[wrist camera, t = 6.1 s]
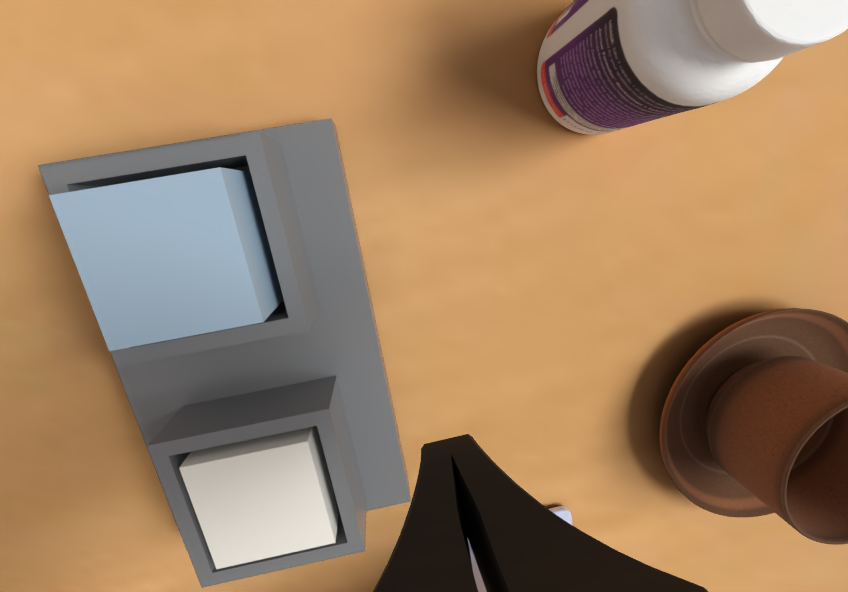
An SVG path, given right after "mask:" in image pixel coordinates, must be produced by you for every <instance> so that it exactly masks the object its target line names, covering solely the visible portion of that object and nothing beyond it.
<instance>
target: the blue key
mask: <svg viewBox="0 0 848 592" xmlns="http://www.w3.org/2000/svg"><path fill="white" fill-rule="evenodd" d="M49 198H50V200H51V203H52V205H53V208H54V210H55V213H56V216H57V218H58V221H59V223H60V226H61V229H62V231H63V234H64V236H65V239H66V241H67V244H68V247H69V249H70V252H71V254H72V257H73V259H74V262H75V265H76V267H77V270H78V272H79V275H80V278H81V280H82V283H83V285H84V288H85V290H86V293H87V296H88V298H89V301H90V303H91V306H92V308H93V311H94V314H95V316H96V319H97V321H98V324H99V327H100V329H101V332H102V334H103V337H104V339H105V342H106V345H107V347H108V350H109V351H113V350H118V349H124V348H129V347H134V346H140V345H145V344H150V343H156V342H161V341H166V340H172V339H177V338H182V337H188V336H193V335H198V334H204V333H209V332H214V331H220V330H225V329H230V328H235V327H241V326H246V325H251V324H257V323H262V322H264V321H265V320H266V319H267V318H268V316H269V315H270V314H271V313H272V312H273V311H274V310H275V309H276V308H277V306H278V305H279V304H280V303H281V302H282V301H283V300H284V298H283V294H282V291H281V287H280V283H279V279H278V275H277V272H276V268H275V264H274V260H273V256H272V253H271V249H270V245H269V241H268V237H267V234H266V230H265V226H264V222H263V218H262V214H261V211H260V207H259V203H258V199H257V195H256V192H255V188H254V184H253V180H252V176H251V173H250V172H246V171H240V170H234V169H228V168H221V167H219V168H213V169H206V170H200V171H194V172H188V173H182V174H176V175H170V176H164V177H158V178H152V179H146V180H139V181H133V182H127V183H121V184H115V185H109V186H103V187H97V188H91V189H85V190H79V191H73V192H66V193H60V194H54V195H49Z"/></svg>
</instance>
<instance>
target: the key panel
mask: <svg viewBox="0 0 848 592" xmlns="http://www.w3.org/2000/svg"><path fill="white" fill-rule="evenodd" d="M38 167H39V170H40V172H41V175H42V177H43V180H44V183H45V185H46V188H47V190H48V193H49V195H54V194H60V193H66V192H73V191H79V190H85V189H91V188H97V187H103V186H109V185H115V184H121V183H127V182H133V181H139V180H146V179H152V178H158V177H164V176H170V175H176V174H182V173H188V172H194V171H200V170H206V169H213V168H219V167H221V168H228V169H234V170H240V171H246V172H250V173H251V176H252V180H253V184H254V188H255V192H256V195H257V199H258V203H259V207H260V211H261V214H262V218H263V222H264V226H265V230H266V234H267V237H268V241H269V245H270V249H271V253H272V256H273V260H274V264H275V268H276V272H277V275H278V279H279V283H280V287H281V291H282V294H283V298H284V300H283V301H282V302H281V303H280V304H279V305H278V306H277V308H276V309H275V310H274V311H273V312H272V313H271V314H270V315H269V316H268V318H267V319H266V320H265V321H264V322H262V323H257V324H251V325H246V326H241V327H235V328H230V329H225V330H220V331H214V332H209V333H204V334H198V335H193V336H188V337H182V338H177V339H172V340H166V341H161V342H156V343H150V344H145V345H140V346H134V347H129V348H124V349H118V350H113V351H110V353H111V356H112V358H113V361H114V363H115V366H116V369H117V371H118V374H119V376H120V379H121V382H122V384H123V387H124V389H125V392H126V394H127V397H128V400H129V402H130V405H131V407H132V410H133V413H134V415H135V418H136V420H137V423H138V425H139V428H140V431H141V433H142V436H143V438H144V441H145V443H146V446H147V449H148V451H149V454H150V456H151V459H152V462H153V464H154V467H155V469H156V472H157V474H158V477H159V480H160V482H161V485H162V487H163V490H164V493H165V495H166V498H167V500H168V503H169V505H170V508H171V511H172V513H173V516H174V518H175V521H176V524H177V526H178V529H179V531H180V534H181V536H182V539H183V542H184V544H185V547H186V549H187V551H188V554H189V556H190V559H191V561H192V564H193V566H194V569H195V572H196V574H197V577H198V579H199V582H200V585H201V587H202V588H203V587H207V586H211V585H216V584H220V583H225V582H229V581H234V580H238V579H243V578H247V577H251V576H256V575H260V574H265V573H269V572H274V571H278V570H283V569H287V568H291V567H296V566H300V565H305V564H309V563H314V562H318V561H323V560H327V559H331V558H336V557H340V556H345V555H349V554H354V553H358V552H363V551H365V531H366V511H369V510H373V509H378V508H382V507H387V506H391V505H396V504H401V503H405V502H410V501H411V499H410V490H409V481H408V476H407V471H406V466H405V461H404V456H403V452H402V447H401V442H400V437H399V432H398V427H397V423H396V418H395V413H394V408H393V403H392V398H391V393H390V389H389V384H388V379H387V374H386V369H385V364H384V360H383V355H382V350H381V345H380V340H379V335H378V331H377V326H376V321H375V316H374V311H373V306H372V301H371V297H370V292H369V287H368V282H367V277H366V272H365V268H364V263H363V258H362V253H361V248H360V243H359V238H358V234H357V229H356V224H355V219H354V214H353V209H352V205H351V200H350V195H349V190H348V185H347V180H346V175H345V171H344V166H343V161H342V156H341V151H340V146H339V142H338V137H337V132H336V127H335V124H334V122H333V121H332V119H325V120H318V121H312V122H306V123H300V124H293V125H287V126H281V127H275V128H268V129H262V130H256V131H250V132H243V133H237V134H231V135H225V136H218V137H212V138H206V139H200V140H193V141H187V142H181V143H175V144H168V145H162V146H156V147H149V148H143V149H137V150H131V151H124V152H118V153H112V154H106V155H99V156H93V157H87V158H81V159H74V160H68V161H62V162H56V163H49V164H43V165H38ZM313 426H317V428H318V432H319V435H320V439H321V443H322V447H323V451H324V455H325V458H326V462H327V466H328V470H329V474H330V477H331V481H332V485H333V489H334V493H335V496H336V500H337V504H338V508H339V518H338V526H337V534H336V542H335V543H332V544H328V545H324V546H319V547H315V548H310V549H306V550H301V551H297V552H292V553H288V554H283V555H279V556H274V557H270V558H265V559H261V560H256V561H252V562H247V563H243V564H238V565H234V566H229V567H225V568H220V569H216V567H215V564H214V561H213V558H212V556H211V553H210V550H209V548H208V545H207V542H206V539H205V537H204V534H203V531H202V529H201V526H200V523H199V521H198V518H197V515H196V512H195V510H194V507H193V504H192V502H191V499H190V496H189V494H188V491H187V488H186V485H185V483H184V480H183V477H182V475H181V472H180V469H179V467H180V466H181V465H182V463H183V462H184V460H185V459H186V458H187V456H188V455H189V453H190V452H191V451H196V450H201V449H206V448H211V447H216V446H221V445H226V444H230V443H235V442H240V441H245V440H250V439H255V438H260V437H265V436H270V435H274V434H279V433H284V432H289V431H294V430H299V429H304V428H309V427H313Z"/></svg>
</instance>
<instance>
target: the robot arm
mask: <svg viewBox="0 0 848 592" xmlns="http://www.w3.org/2000/svg"><path fill="white" fill-rule="evenodd" d="M373 592H708V591H707V590H706V589H705V588H704V587H701V586H699V585H696V584H694V583H691V582H688V581H686V580H683V579H681V578H678V577H676V576H673V575H671V574H668V573H666V572H663V571H660V570H658V569H655V568H653V567H651V566H648V565H646V564H644V563H642V562H640V561H637V560H635V559H633V558H631V557H629V556H627V555H625V554H623V553H620V552H618V551H616V550H614V549H613V548H611V547H609V546H607V545H605V544H604V543H602V542H600V541H598V540H596V539H595V538H593V537H591V536H589V535H587V534H586V533H584V532H582V531H580V530H579V529H577V528H576V527H574V526H572V517H571V513H570V511H569V510H568V508H567V507H564V506H559V507H554V508H550V509H547V508H546V507H545V506H543V505H542V504H541V503H539V502H538V501H537V500H536V499H534V498H533V497H532V496H531V495H529V494H528V493H527V492H526V491H525V490H523V489H522V488H521V487H520V486H519V485H518V484H516V483H515V482H514V481H513V480H512V479H511V478H510V477H509V476H508V475H507V474H506V473H505V472H504V471H502V470H501V469H500V468H499V467H498V466H497V465H496V464H495V463H494V462H493V461H492V460H491V459H490V457H489V456H488V455H487V454H486V453H485V452H484V451H483V450H482V449H481V447H480V446H479V445H478V444H477V443H476V441H475V440H474V439H473V437H472V436H470V435H469V434H466V435H462V436H457V437H453V438H449V439H444V440H440V441H436V442H432V443H427V444H424V446H423V447H422V448H421V463H420V469H419V474H418V479H417V483H416V487H415V491H414V495H413V498H412V502H411V505H410V508H409V511H408V514H407V517H406V520H405V523H404V526H403V528H402V531H401V534H400V536H399V539H398V541H397V543H396V546H395V548H394V550H393V553H392V555H391V557H390V559H389V561H388V564H387V566H386V568H385V569H384V571H383V573H382V575H381V577H380V579H379V581H378V583H377V585H376V587H375V589H374V591H373Z"/></svg>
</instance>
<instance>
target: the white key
mask: <svg viewBox="0 0 848 592" xmlns="http://www.w3.org/2000/svg"><path fill="white" fill-rule="evenodd" d="M179 469H180V472H181V475H182V477H183V480H184V483H185V485H186V488H187V491H188V494H189V496H190V499H191V502H192V504H193V507H194V510H195V512H196V515H197V518H198V521H199V523H200V526H201V529H202V531H203V534H204V537H205V539H206V542H207V545H208V548H209V550H210V553H211V556H212V558H213V561H214V564H215V567H216V569H220V568H225V567H229V566H234V565H238V564H243V563H247V562H252V561H256V560H261V559H265V558H270V557H274V556H279V555H283V554H288V553H292V552H297V551H301V550H306V549H310V548H315V547H319V546H324V545H328V544H332V543H335V542H336V534H337V526H338V518H339V508H338V504H337V500H336V496H335V493H334V489H333V485H332V481H331V477H330V474H329V470H328V466H327V462H326V458H325V455H324V451H323V447H322V443H321V439H320V435H319V432H318V428H317V426H313V427H309V428H304V429H299V430H294V431H289V432H284V433H279V434H274V435H270V436H265V437H260V438H255V439H250V440H245V441H240V442H235V443H230V444H226V445H221V446H216V447H211V448H206V449H201V450H196V451H191V452H190V453H189V455H188V456H187V458H186V459H185V460H184V462H183V463H182V465H181V466H180V467H179Z"/></svg>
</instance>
